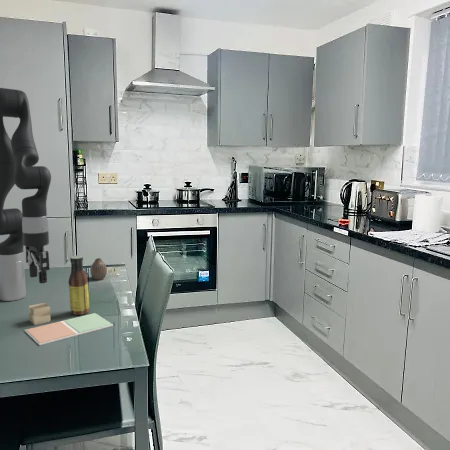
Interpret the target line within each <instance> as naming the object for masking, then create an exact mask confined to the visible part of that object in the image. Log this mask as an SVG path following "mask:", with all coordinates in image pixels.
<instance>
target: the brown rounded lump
mask: <svg viewBox="0 0 450 450" xmlns="http://www.w3.org/2000/svg"><path fill="white" fill-rule="evenodd" d="M89 271H90V277H91V278H92V279H93V280H96V281H100V280H104V279H105V278H106V276H107V273H108V268H107V265H106V263H104V261H103V259H102V258H100V257H99V258H95V260H94V262H93V263H92V264H91V266H90V270H89Z"/></svg>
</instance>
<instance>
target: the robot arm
mask: <svg viewBox="0 0 450 450" xmlns="http://www.w3.org/2000/svg"><path fill="white" fill-rule="evenodd" d="M30 110H31V109H30V104H29V99H28V95H27V94H26V93H25V91H23V90H20V89H12V88H5V87H0V236H5V235H6V236H7V235H9V236H8V237H7V238H6V239H4V240H3V241H1V242H0V301H3V302H4V301H5V302H12V301H18V300H22V299H24V298H26V296H27V291H26V274H25V273H26V271H25V270H26V269H25V262H26V264H27V265H28V266H29V267H28V268H29V277H30V278H37V277H38V283H39V284H46V283H47V282H48V276H47V275H48V273H47V271H50V269H51V268H50V256H49V251H48V250H46V251H45V248H44V247H45V246H48V245H49V244H50V239H49V238H50V237H49V221H48V216H47V215H48V213H47V200H48V193H49V189H50V186H51V181H52V174H51V171H50V169H49V168H48V167H46V166H42V165H38V166H37V164H38V163H39V160H40V157H39V153H38V149H37V146H36V143H35V139H34V138H35V137H34V134H33V126H32V116H31V111H30ZM4 117H5V118H14V119H15V118H17V119H19V123H18V126H17V127H16V129H15V130H14V132H13V133H12V136H11V138H10V136H9V134H8V132H7V130H6V128H5V124H4ZM14 186H16V187H17V188H18V189H20V190H37V191H36V192H35V194H33V195H31V196H27V197H26V196H25V197H23V198H22V200H21V210H20V208H16V207H15V208H14V207H13V208H4V207H5V206H4V205H5V202H6V198H7V197H8V195H9V193H10V191H11V190H12V189H13V187H14ZM24 247H25V248H24ZM24 249H25V252H24ZM24 253H25V256H24Z"/></svg>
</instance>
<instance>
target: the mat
mask: <svg viewBox="0 0 450 450" xmlns="http://www.w3.org/2000/svg"><path fill="white" fill-rule="evenodd" d="M111 327H114V324H113V323H111V322H110V321H108V320H107V319H105V318H104V317H102V316H101V315H99V314H98V313H95V312H93V313H90V314H84V315H80V316H77V317H73V318H69V319H64V320H61V321H57V322H52V323H47V324H44V325H39V326H34V327H31V328H27V329H24V332H25V333H26V334H27V335H28V336H29V337H30V338H31V339H32V340H33V341H34V342H35V343H36V344H37V345H38V346H43V345H48V344H51V343H55V342H59V341H62V340H65V339H70V338H74V337H77V336H81V335H85V334H88V333H92V332H96V331H99V330H100V331H101V330H103V329H107V328H111Z"/></svg>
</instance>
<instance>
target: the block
mask: <svg viewBox="0 0 450 450" xmlns="http://www.w3.org/2000/svg"><path fill="white" fill-rule="evenodd" d="M28 317H29V318H28V319H29V322H31V323H32V324H33V325H34V326H36V325H41V324H45V323H49V322H51V306H50V305H48V304H47V303H46V302H41V303H36V304H33V305H32V304H31V305H28Z"/></svg>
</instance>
